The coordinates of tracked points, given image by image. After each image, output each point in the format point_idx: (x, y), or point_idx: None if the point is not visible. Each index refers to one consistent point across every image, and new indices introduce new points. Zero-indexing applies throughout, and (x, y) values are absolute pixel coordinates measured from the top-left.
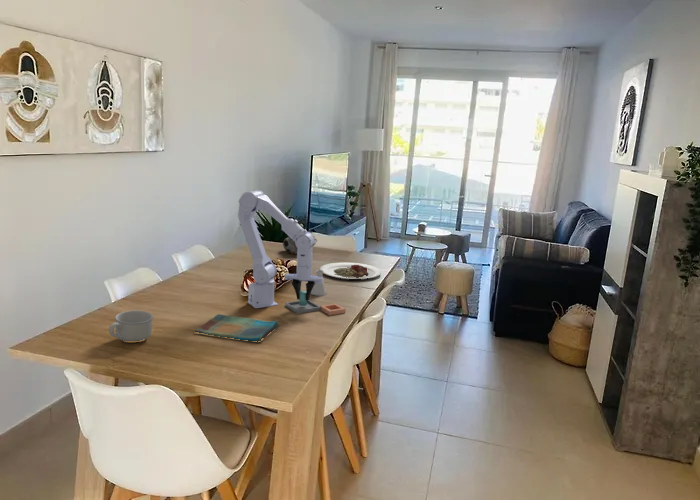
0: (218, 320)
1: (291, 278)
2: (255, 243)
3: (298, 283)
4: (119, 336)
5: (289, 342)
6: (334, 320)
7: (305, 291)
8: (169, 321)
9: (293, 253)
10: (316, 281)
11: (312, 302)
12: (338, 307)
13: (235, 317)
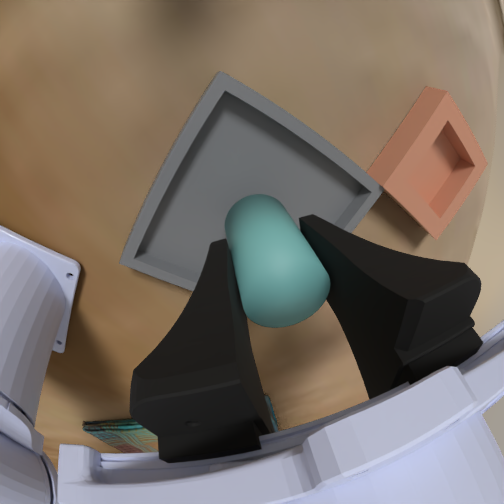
0: (116, 438)
1: (154, 474)
2: None
3: (270, 424)
4: None
5: (336, 410)
6: (438, 256)
7: (300, 269)
8: (58, 442)
9: None
10: (488, 354)
11: (297, 127)
12: (462, 147)
13: (134, 431)
